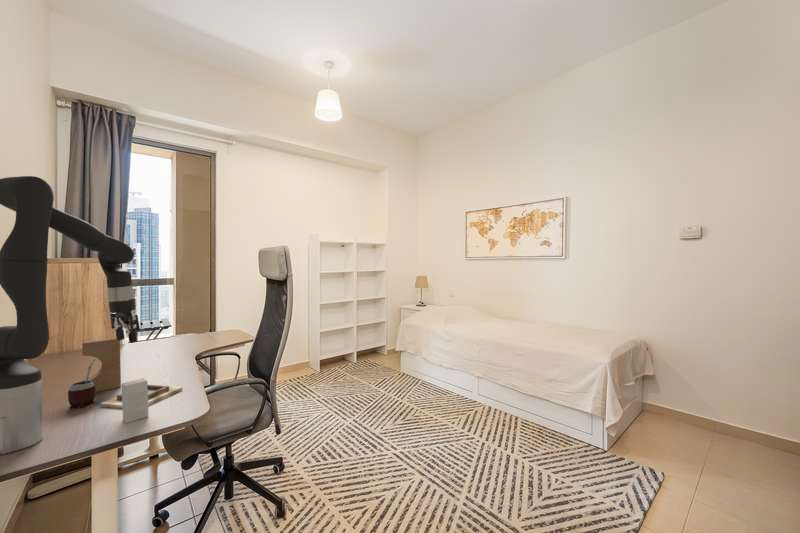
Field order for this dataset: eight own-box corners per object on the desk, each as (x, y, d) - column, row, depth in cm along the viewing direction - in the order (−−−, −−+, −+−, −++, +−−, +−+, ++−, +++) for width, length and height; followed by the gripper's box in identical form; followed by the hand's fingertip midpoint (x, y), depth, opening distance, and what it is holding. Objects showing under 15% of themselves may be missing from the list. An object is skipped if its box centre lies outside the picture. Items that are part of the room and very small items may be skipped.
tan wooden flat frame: (137, 410, 113) (137, 402, 113) (100, 406, 116) (100, 398, 116) (182, 390, 131) (182, 383, 131) (149, 387, 134) (148, 380, 134)
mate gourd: (68, 411, 112) (67, 368, 112) (68, 405, 118) (67, 363, 118) (98, 404, 118) (97, 363, 117) (96, 398, 123) (95, 358, 123)
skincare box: (145, 413, 111) (144, 377, 111) (148, 416, 108) (148, 380, 108) (121, 419, 106) (121, 382, 106) (125, 423, 103) (124, 385, 103)
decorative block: (83, 395, 126) (82, 343, 126) (83, 391, 130) (82, 341, 130) (121, 387, 134) (120, 338, 134) (119, 383, 138) (118, 336, 138)
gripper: (99, 299, 121) (104, 342, 123) (119, 301, 115) (125, 346, 117) (123, 295, 128) (128, 336, 130) (143, 297, 122) (148, 339, 124)
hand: (126, 341), depth 123 cm, fingers open, 8 cm apart
